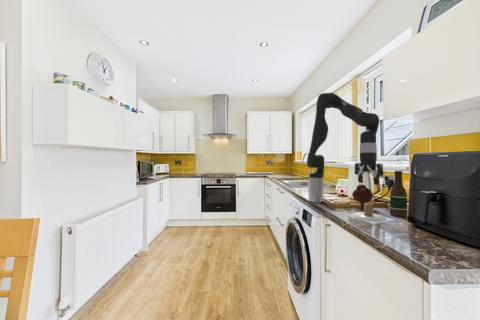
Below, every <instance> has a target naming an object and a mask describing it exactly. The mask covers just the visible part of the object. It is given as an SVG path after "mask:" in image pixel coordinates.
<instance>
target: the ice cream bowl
mask: <svg viewBox="0 0 480 320" xmlns="http://www.w3.org/2000/svg"><path fill="white" fill-rule="evenodd" d="M373 196H374V194H372V191H371V189H370V188H369V187H367V186H366V185H365V184H363V183H360V184H358V185H357V186H356V188H355V189H354V190H353V192H352V198H353V199H354V200H355V201H356V202H357V203H359V204H360V206H359V207H357V210H360V211H364V203H369V202H371V200H372V199H373Z"/></svg>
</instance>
